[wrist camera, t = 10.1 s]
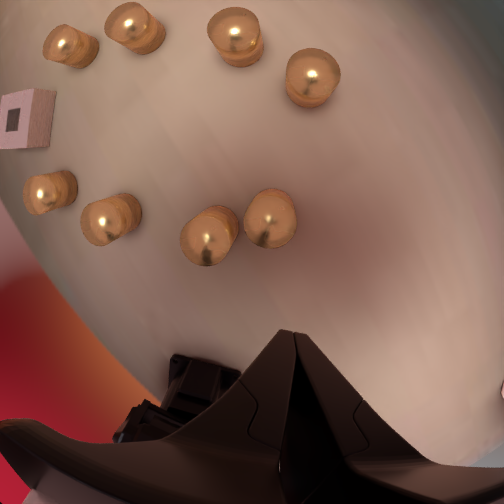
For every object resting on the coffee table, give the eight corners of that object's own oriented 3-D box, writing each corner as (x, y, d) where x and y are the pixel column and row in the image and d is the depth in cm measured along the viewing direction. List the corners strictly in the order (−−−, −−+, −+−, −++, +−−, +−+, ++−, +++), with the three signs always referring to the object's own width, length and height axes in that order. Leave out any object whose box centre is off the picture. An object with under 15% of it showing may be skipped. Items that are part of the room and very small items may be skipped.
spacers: (286, 269, 22) (287, 293, 18) (48, 212, 22) (19, 222, 19) (339, 44, 16) (350, 22, 13) (80, 29, 17) (53, 17, 13)
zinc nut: (49, 146, 21) (26, 147, 18) (17, 147, 21) (-5, 149, 18) (56, 91, 19) (34, 88, 16) (23, 97, 19) (2, 95, 16)
